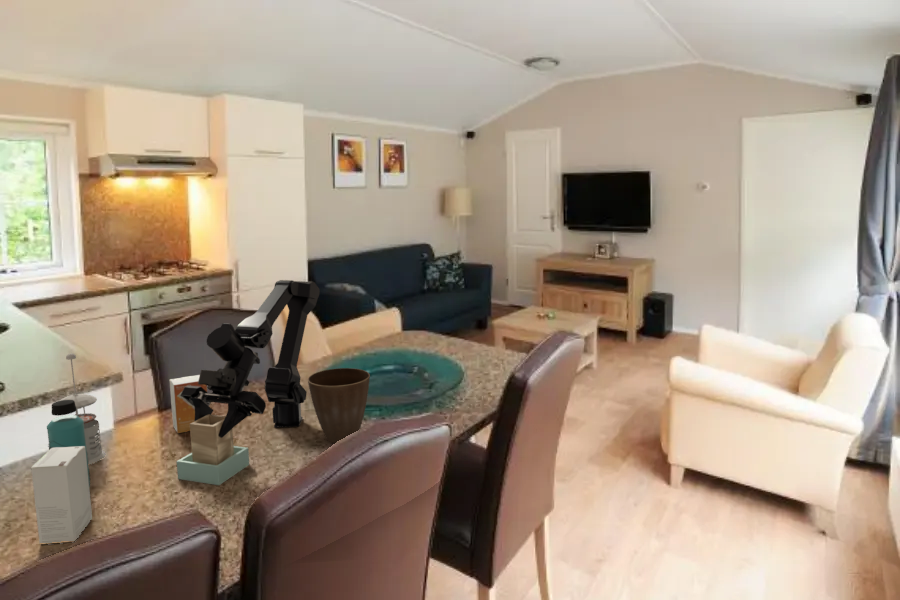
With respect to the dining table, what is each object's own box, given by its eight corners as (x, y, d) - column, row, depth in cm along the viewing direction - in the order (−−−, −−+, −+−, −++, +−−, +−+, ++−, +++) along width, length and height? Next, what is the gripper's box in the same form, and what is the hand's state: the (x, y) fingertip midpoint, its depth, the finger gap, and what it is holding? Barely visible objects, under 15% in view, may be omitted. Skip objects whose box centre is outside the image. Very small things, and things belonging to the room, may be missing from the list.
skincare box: (59, 522, 113) (50, 446, 111) (95, 519, 114) (86, 443, 112) (38, 547, 105) (27, 466, 103) (76, 543, 106) (66, 463, 104)
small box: (177, 434, 155) (173, 384, 153) (172, 426, 161) (168, 378, 159) (210, 427, 160) (207, 379, 158) (205, 420, 165) (201, 373, 163)
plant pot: (344, 455, 141) (341, 389, 139) (297, 442, 149) (294, 379, 147) (383, 434, 154) (382, 373, 151) (339, 423, 162) (336, 365, 159)
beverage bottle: (65, 490, 126) (53, 396, 123) (98, 488, 126) (88, 395, 123) (47, 505, 120) (34, 407, 116) (82, 503, 120) (71, 406, 117)
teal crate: (210, 459, 140) (209, 442, 140) (249, 464, 137) (248, 447, 136) (178, 478, 130) (176, 461, 130) (219, 485, 127) (217, 467, 127)
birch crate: (211, 454, 137) (208, 414, 136) (234, 457, 135) (231, 416, 134) (193, 465, 132) (189, 423, 130) (216, 469, 130) (213, 426, 128)
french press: (55, 471, 135) (41, 361, 131) (60, 452, 145) (48, 349, 141) (106, 462, 139) (94, 355, 135) (107, 444, 149) (97, 344, 145)
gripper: (182, 350, 136) (149, 414, 128) (254, 356, 131) (225, 423, 122) (209, 374, 145) (179, 436, 136) (277, 381, 139) (251, 445, 131)
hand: (207, 435), depth 131 cm, fingers closed on birch crate, 6 cm apart
